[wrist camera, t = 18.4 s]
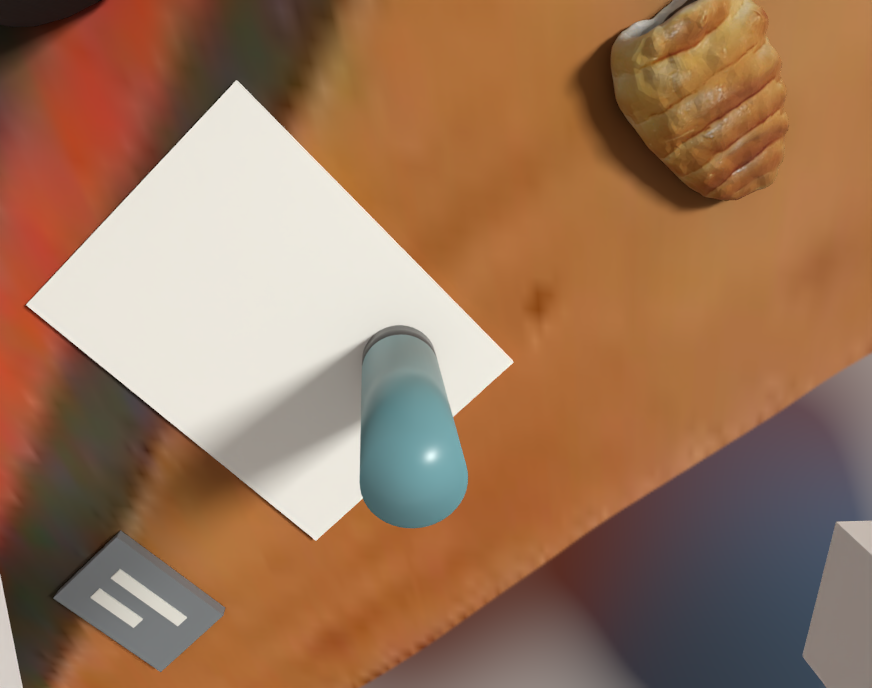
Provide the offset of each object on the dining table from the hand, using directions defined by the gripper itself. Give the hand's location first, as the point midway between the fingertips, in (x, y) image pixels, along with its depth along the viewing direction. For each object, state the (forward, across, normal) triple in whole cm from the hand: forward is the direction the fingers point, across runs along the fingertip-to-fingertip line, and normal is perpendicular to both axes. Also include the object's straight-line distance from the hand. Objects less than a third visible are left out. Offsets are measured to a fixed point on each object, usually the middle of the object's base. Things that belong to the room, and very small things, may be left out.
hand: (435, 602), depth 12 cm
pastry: (+25, +14, +8) cm, 29 cm away
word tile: (+24, -13, -18) cm, 33 cm away
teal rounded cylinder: (+24, +1, -5) cm, 24 cm away
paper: (+24, -5, -4) cm, 25 cm away
